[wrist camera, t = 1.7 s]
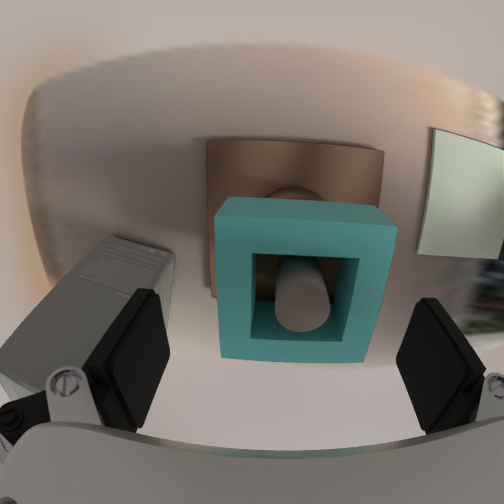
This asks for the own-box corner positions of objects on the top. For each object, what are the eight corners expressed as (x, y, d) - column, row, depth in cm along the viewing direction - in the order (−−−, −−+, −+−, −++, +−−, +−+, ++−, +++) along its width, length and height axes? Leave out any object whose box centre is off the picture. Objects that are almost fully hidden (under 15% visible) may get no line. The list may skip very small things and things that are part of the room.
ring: (374, 205, 13) (398, 226, 10) (351, 324, 16) (363, 362, 13) (228, 197, 14) (214, 215, 11) (230, 319, 16) (220, 357, 13)
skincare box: (110, 231, 23) (-26, 347, 8) (187, 254, 23) (84, 419, 8) (109, 309, 26) (21, 429, 12) (175, 332, 26) (110, 479, 12)
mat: (514, 155, 16) (517, 155, 16) (495, 257, 20) (497, 259, 20) (433, 129, 17) (436, 129, 17) (416, 252, 21) (417, 254, 21)
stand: (379, 150, 18) (466, 174, 8) (357, 297, 23) (394, 398, 13) (209, 140, 19) (141, 152, 9) (214, 291, 24) (176, 391, 14)
